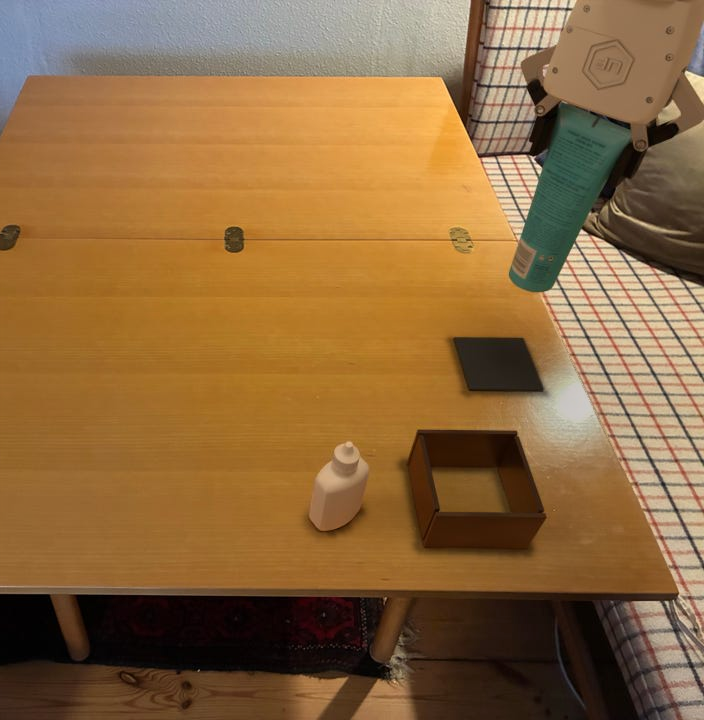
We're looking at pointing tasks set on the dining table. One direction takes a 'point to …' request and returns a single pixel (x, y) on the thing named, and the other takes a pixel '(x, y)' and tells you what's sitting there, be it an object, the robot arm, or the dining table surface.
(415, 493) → the tube holder
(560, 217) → the tube
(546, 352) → the dining table surface
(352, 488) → the eye dropper bottle
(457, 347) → the mat
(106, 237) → the dining table surface
